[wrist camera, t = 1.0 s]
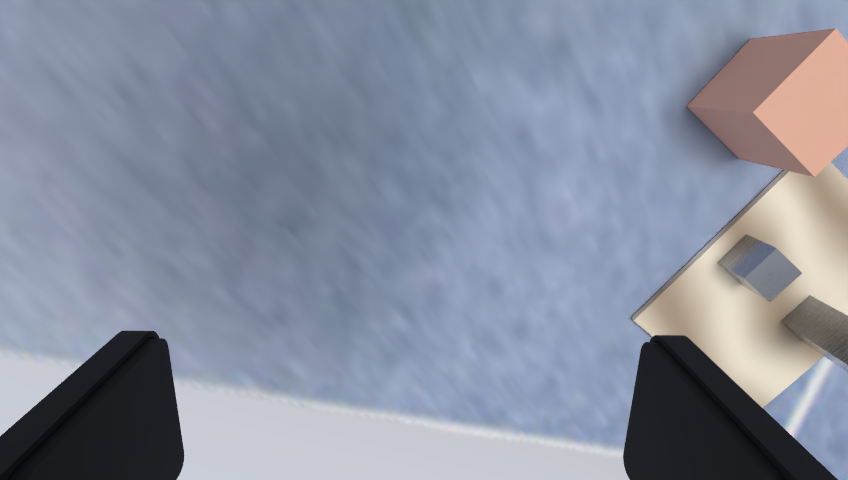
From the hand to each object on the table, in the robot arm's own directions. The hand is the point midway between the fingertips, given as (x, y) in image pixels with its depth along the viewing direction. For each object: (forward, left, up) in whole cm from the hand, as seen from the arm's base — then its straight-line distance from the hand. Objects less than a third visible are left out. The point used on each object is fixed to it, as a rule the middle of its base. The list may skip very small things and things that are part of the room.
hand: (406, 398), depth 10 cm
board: (-10, +25, -24) cm, 37 cm away
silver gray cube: (-10, +21, -24) cm, 34 cm away
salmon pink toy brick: (-17, +13, -24) cm, 33 cm away
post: (-10, +28, -24) cm, 39 cm away
